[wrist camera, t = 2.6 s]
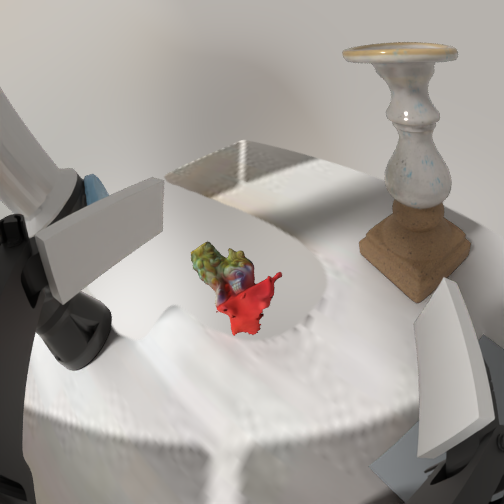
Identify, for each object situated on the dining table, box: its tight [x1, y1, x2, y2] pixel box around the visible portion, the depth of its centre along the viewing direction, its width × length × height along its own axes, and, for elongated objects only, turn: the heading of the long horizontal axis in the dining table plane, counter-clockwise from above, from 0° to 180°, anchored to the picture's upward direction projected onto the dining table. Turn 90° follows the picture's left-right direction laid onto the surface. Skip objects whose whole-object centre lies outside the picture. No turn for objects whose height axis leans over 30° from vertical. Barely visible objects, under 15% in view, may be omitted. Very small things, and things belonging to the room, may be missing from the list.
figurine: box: [191, 242, 282, 336], centre depth 32 cm, size 8×10×12 cm
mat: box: [369, 334, 504, 503], centre depth 11 cm, size 16×14×1 cm
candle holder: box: [342, 42, 471, 303], centre depth 22 cm, size 11×11×24 cm
